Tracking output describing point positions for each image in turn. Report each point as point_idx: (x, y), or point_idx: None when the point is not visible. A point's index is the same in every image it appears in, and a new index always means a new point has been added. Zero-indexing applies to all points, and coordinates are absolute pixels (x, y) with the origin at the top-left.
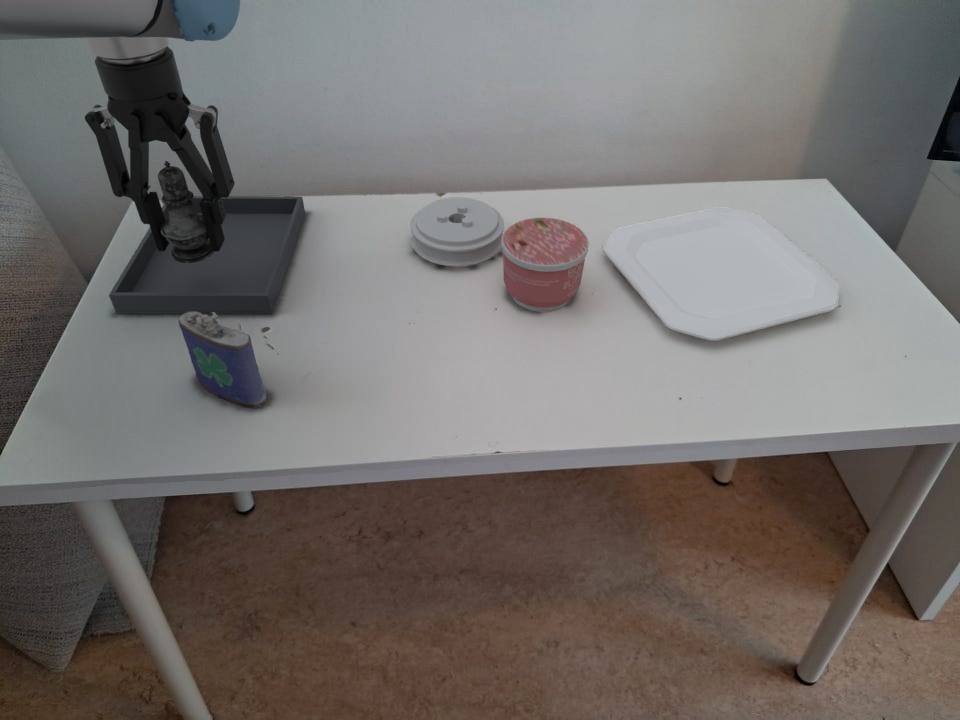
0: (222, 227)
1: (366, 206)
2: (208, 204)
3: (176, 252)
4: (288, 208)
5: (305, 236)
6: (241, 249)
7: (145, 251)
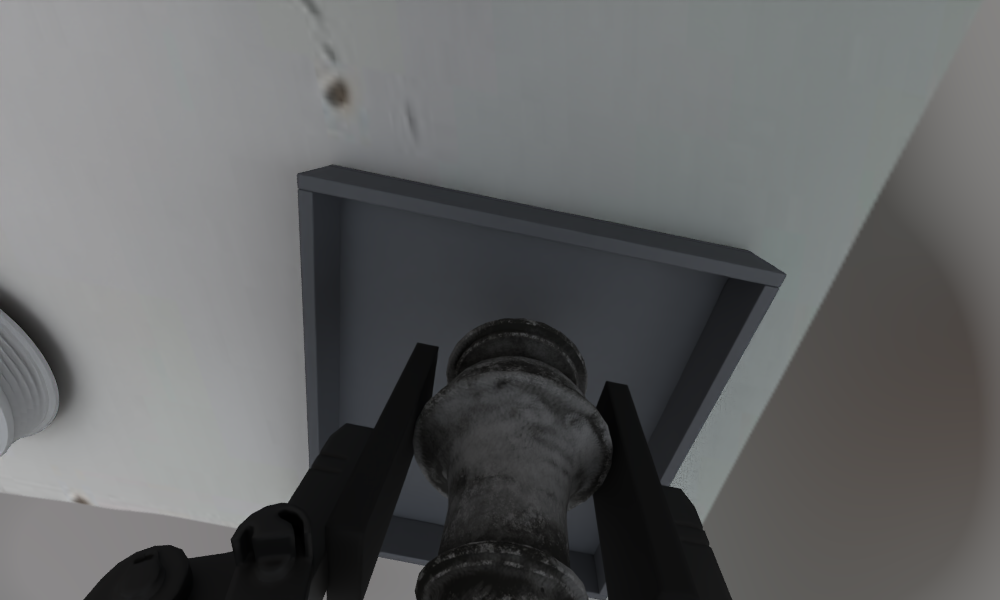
0: None
1: (216, 499)
2: (290, 514)
3: (567, 372)
4: None
5: None
6: None
7: (663, 448)
